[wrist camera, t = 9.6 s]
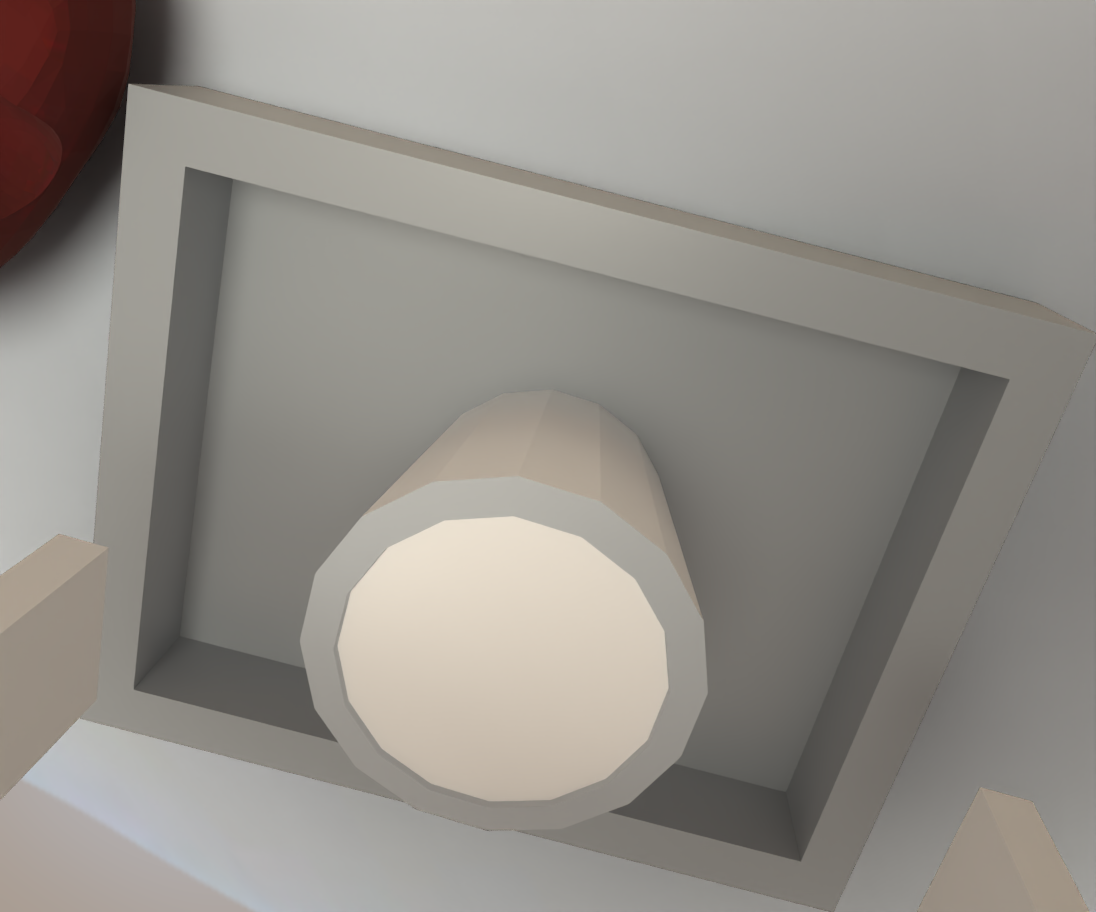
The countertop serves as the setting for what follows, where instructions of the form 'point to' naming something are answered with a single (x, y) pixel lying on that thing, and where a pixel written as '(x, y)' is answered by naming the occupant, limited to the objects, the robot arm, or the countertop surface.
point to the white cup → (512, 622)
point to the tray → (578, 370)
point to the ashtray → (55, 101)
